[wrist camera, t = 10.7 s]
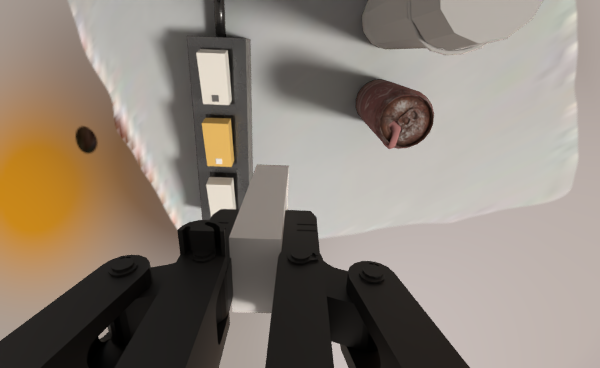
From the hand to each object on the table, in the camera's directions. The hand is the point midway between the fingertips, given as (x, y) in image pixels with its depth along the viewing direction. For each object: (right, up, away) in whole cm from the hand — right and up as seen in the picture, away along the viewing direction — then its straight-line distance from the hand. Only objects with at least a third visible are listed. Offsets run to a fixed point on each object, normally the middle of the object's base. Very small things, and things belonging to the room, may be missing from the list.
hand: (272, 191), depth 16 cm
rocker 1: (-9, +13, +24) cm, 28 cm away
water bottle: (+13, +21, +27) cm, 36 cm away
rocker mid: (-9, +6, +27) cm, 29 cm away
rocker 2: (-9, -2, +30) cm, 31 cm away
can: (+12, +12, +30) cm, 35 cm away
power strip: (-9, +11, +31) cm, 34 cm away
